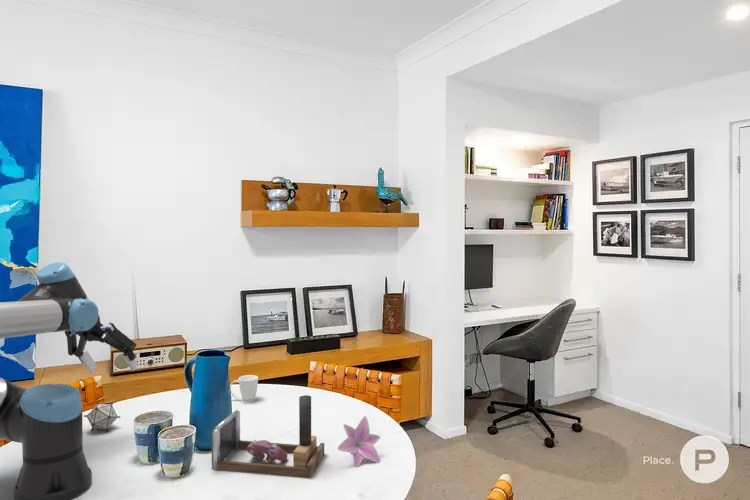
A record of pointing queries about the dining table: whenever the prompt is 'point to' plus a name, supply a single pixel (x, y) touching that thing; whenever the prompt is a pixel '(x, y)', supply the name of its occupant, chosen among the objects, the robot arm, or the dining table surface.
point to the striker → (304, 434)
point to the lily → (360, 442)
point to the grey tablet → (225, 438)
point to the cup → (247, 388)
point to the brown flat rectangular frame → (275, 469)
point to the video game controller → (266, 451)
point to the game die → (102, 416)
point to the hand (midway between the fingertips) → (114, 368)
